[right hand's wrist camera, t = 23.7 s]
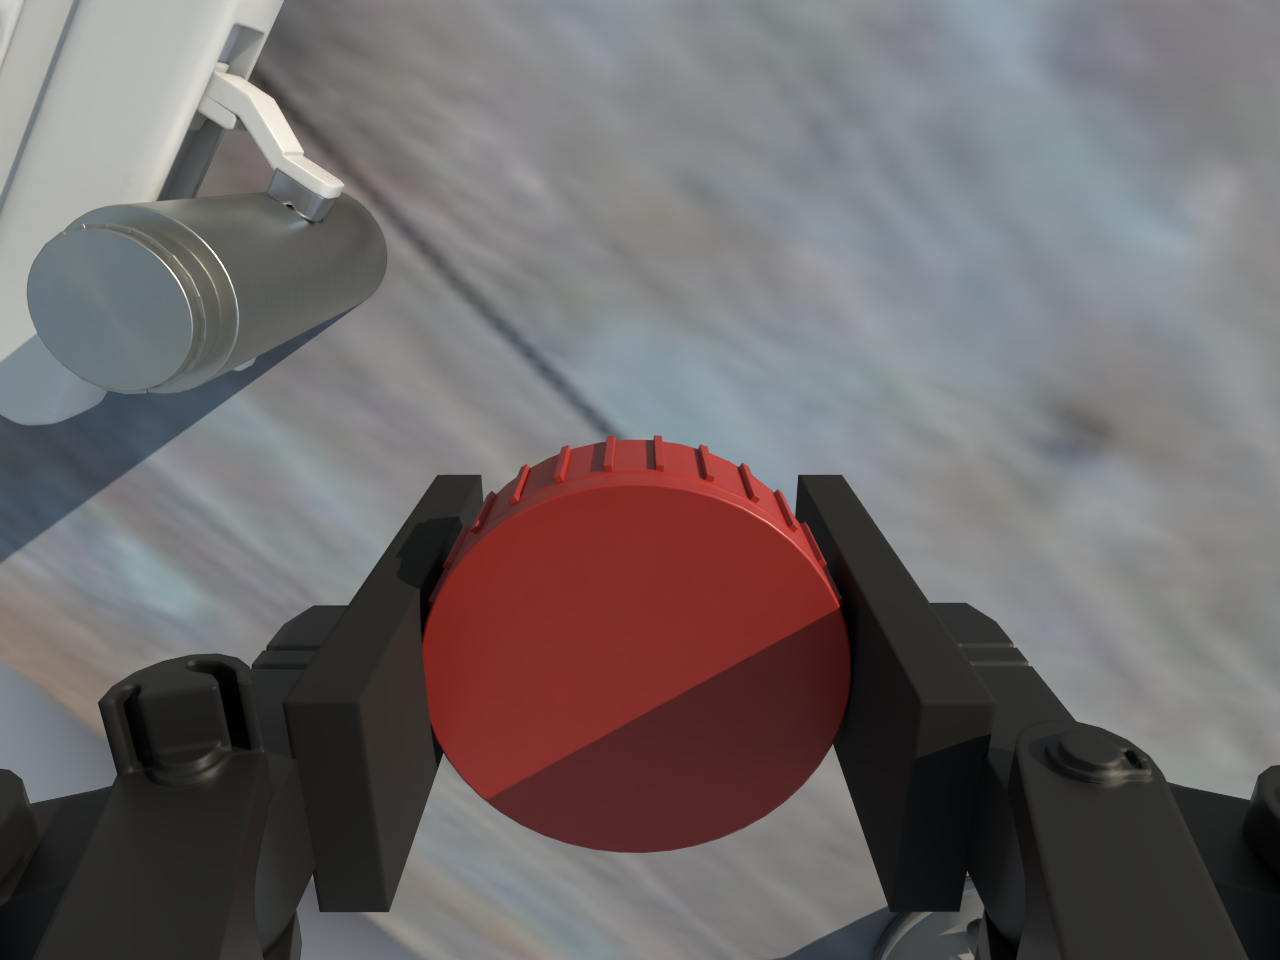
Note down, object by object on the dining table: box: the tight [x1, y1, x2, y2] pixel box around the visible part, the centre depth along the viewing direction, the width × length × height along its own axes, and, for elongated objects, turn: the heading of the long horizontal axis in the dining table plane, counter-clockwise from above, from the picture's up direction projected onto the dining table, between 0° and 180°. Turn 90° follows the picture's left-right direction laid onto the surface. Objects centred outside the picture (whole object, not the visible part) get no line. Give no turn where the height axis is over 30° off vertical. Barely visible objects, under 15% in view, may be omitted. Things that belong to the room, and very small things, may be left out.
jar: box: [27, 192, 387, 394], centre depth 28 cm, size 5×5×16 cm
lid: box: [422, 436, 852, 853], centre depth 11 cm, size 6×6×2 cm
